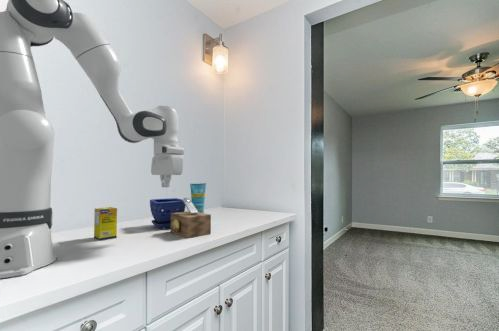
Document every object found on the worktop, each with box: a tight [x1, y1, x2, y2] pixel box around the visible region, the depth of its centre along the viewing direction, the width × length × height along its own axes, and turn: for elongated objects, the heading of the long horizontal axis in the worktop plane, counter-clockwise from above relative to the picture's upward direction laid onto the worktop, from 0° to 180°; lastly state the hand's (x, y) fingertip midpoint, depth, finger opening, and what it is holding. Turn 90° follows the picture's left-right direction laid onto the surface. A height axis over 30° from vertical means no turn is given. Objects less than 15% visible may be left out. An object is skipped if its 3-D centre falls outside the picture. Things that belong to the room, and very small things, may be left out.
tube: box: [189, 182, 207, 213], centre depth 116 cm, size 7×5×19 cm, turn 123°
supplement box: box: [93, 206, 118, 241], centre depth 93 cm, size 6×6×11 cm
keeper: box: [182, 197, 198, 214], centre depth 102 cm, size 3×9×1 cm
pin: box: [172, 220, 181, 232], centre depth 101 cm, size 14×5×5 cm, turn 132°
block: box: [170, 211, 212, 239], centre depth 101 cm, size 10×14×8 cm
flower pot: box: [149, 197, 186, 230], centre depth 115 cm, size 13×13×12 cm
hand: (165, 187), depth 95 cm, fingers closed
